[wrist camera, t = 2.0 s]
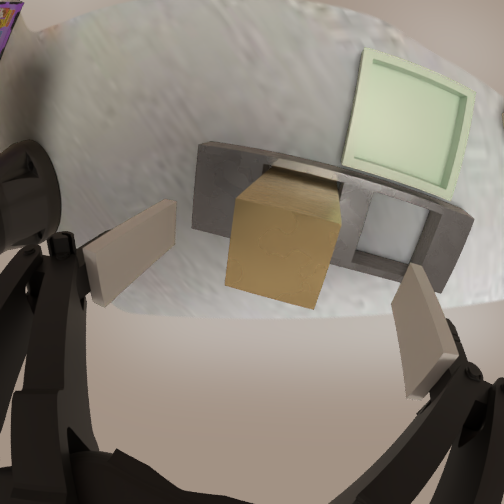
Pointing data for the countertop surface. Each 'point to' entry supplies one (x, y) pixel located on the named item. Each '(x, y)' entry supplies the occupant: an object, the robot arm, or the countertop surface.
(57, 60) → the countertop surface
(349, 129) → the tray
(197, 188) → the grey slotted holder
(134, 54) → the countertop surface
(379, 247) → the countertop surface
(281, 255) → the wooden block
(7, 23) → the candy box
